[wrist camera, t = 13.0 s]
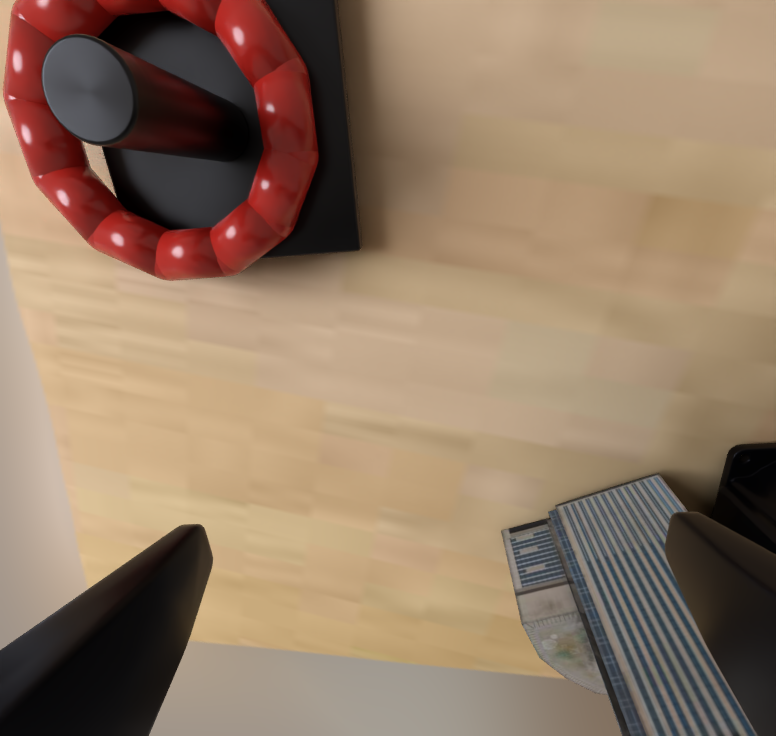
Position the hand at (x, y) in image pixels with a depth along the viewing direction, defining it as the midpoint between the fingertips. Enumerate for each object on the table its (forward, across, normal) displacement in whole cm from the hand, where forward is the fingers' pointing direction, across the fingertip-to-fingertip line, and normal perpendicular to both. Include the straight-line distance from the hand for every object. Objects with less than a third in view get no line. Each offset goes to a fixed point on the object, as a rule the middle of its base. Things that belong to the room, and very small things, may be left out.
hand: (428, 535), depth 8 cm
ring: (+10, +8, -9) cm, 15 cm away
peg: (+12, +7, -9) cm, 16 cm away
